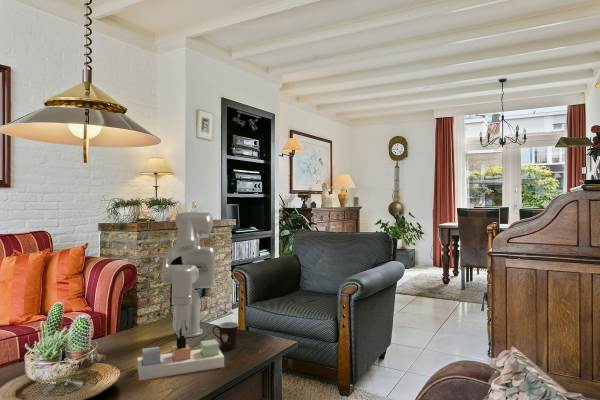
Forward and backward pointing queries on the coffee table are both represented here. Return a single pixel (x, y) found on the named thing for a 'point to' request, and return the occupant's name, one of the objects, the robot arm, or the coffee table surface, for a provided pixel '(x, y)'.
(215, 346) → the sage button
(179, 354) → the terracotta button
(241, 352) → the coffee table surface
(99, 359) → the rabbit figure
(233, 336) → the coffee mug
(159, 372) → the button panel
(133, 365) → the coffee table surface
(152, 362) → the slate button
